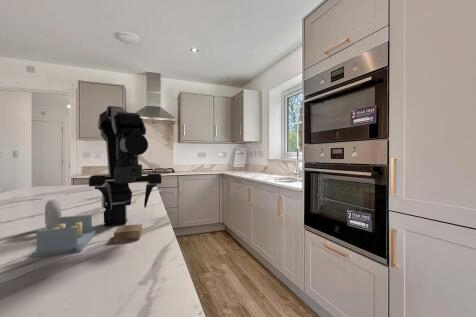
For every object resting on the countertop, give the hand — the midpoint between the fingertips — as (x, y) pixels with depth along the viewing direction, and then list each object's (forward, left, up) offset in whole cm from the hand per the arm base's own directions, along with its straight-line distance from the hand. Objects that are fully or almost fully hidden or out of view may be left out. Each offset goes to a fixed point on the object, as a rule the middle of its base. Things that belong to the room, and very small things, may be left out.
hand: (128, 208), depth 68 cm
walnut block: (0, 0, -9) cm, 9 cm away
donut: (+24, -15, -9) cm, 29 cm away
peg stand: (+15, +1, -8) cm, 17 cm away
